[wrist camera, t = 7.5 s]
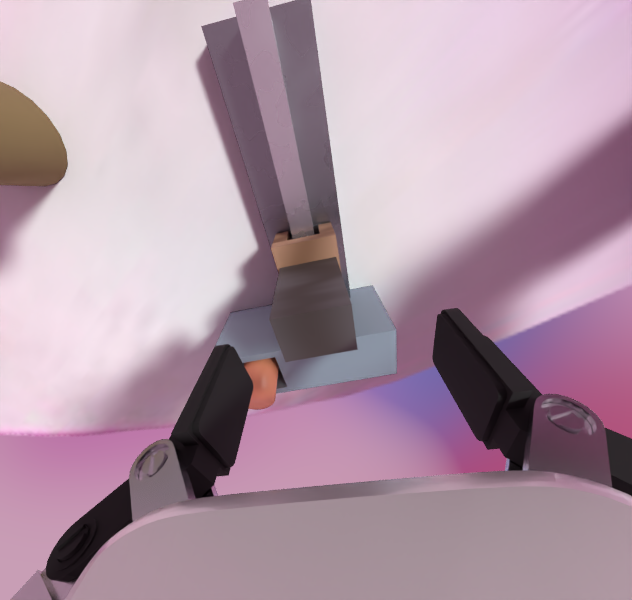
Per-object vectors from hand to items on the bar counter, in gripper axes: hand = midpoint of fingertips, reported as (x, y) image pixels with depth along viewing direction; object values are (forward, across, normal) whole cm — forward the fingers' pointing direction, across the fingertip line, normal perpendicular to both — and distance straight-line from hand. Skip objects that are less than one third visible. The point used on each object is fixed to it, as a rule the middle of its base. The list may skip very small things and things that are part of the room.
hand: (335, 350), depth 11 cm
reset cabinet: (+12, +3, +7) cm, 14 cm away
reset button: (+9, +7, +7) cm, 13 cm away
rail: (+12, +1, -5) cm, 13 cm away
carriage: (+11, +1, 0) cm, 11 cm away
